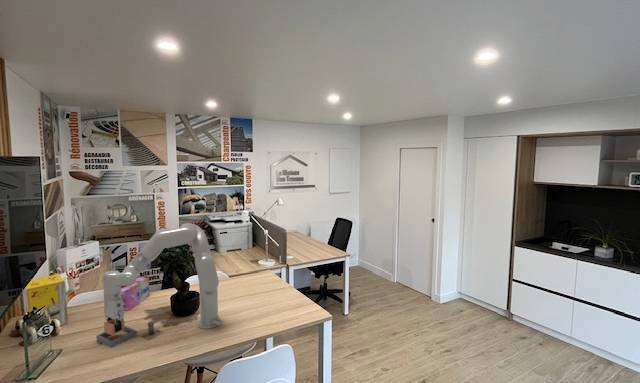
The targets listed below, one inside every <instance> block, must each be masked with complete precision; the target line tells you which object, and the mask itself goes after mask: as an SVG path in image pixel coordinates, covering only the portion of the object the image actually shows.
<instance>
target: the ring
mask: <svg viewBox="0 0 640 383" xmlns="http://www.w3.org/2000/svg"><path fill="white" fill-rule="evenodd" d="M118 320H119V319H117V321H118ZM125 323H126V322H125V320H124V319H123V321H122V330H120V331H118V332H115V320H114V319H112V320H109V321H104V322H103V328H104V332H106V333H108V334H110V335H112V336H113V335H116V334H119V333H120V332H124V331H123V330H124V325H125Z"/></svg>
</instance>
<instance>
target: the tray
mask: <svg viewBox="0 0 640 383" xmlns="http://www.w3.org/2000/svg"><path fill="white" fill-rule="evenodd" d="M122 332H124V333H126V334H124V335H122V336H120V337H118V338H116V339H113V340H110V339H109V338H111V337H112V336H113V335H110V334H108V333H106V332H101V333H99V334H96V335H95V336H96V343H97V344H100V345H103V344H104V345H105V346H107V347H108V348H109V347H110V348H113V347H115V346H117V345H120V344H122V343H123V342H126V341H128V340H130V339H132V338H134V337H137V336H138V333H137V332H138V331H137V330H135V329H134V328H132V327H129V326H126V325H125V324H124V330H123V331H122Z"/></svg>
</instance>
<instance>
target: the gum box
mask: <svg viewBox="0 0 640 383" xmlns="http://www.w3.org/2000/svg"><path fill="white" fill-rule="evenodd" d="M150 296H151V294H150V277H149V276H143V275H141V276H139V275H138V277H137V280H136V282H135V283H134V284H133V285H131V286H121V298H122V301H123V307H124V311H130V310H132V309H134V308H135V307H136V306H138V305H139V304H140V303H142V302H143V301H144V300H146V299H147V298H149V297H150Z"/></svg>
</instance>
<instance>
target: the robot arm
mask: <svg viewBox="0 0 640 383" xmlns="http://www.w3.org/2000/svg"><path fill="white" fill-rule="evenodd" d="M188 244H191V247H192V251H193V255H194V265H195V270H196V274H197V278H198V284H199V285H198V286H199V310H200V311H199V312H200V314H199V315H200V317H199V318H200V320H199V321H197V327H198V328H200V329H204V330H208V329H214V328H217V327H218V326H221V324H222V322H223V320H222V319H221V317H220V315H219V302H218V301H219V299H218V298H219V295H218V293H219V291H218V287H219V282H220V280H219V277H218V272H217V268H216V265H215V264H216V263H215V260H214V257H213V255H212V253H211V249H210V244H209V240H208V238H207V235H206V233H205V231H204V230H203V229H202V228H201V227H200V226H198V225H197V224H195V223H191V222H185V223H182V224H181V225H180V226H179V227H178V229H173V230H170V229H168V228H165V227H164V228H163V227H162V228H159V229H158V230H157V231H155V233H154V234H153V235H152V236H151V237H150V239H149V240H148V241H147V242H146V243H145V244H144V246H143V247H142V248H141V249H140V250H139V252H138V253H137V254H136V255H135V256H134V257H133V259H131V260H130V261H129V263H128V264H127V265H126V266H125V268H124V269H123V270H122V272H120V271H119V270H113V269H112V270H108V271H106V272H104V273H103V275H102V284H103V301H104V302H103V306H104V308H103V309H104V310H103V313H104V316H105V322H107V321H109V320H112V319H114V320H115V332H118V331H120V330H122V321H123V320H124V319H125V318H124V317H125V310H124V307H123V301H122V298H121V286H131V285H133V284H134V283H135V282H136V280H137V277H138V276H139V274H140V273H141V272H142V271H143V270H144V268H145V267H146V266H147V265H148V264H150V263H151V262H153V261H155V260H156V259H157V257H158V256H159V255H160V254H161V253H162V252H163V250H164V249H167V248H173V247H179V246H183V245H188ZM117 319H119V320H118V321H117ZM120 332H121V331H120ZM118 333H119V332H118Z"/></svg>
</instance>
